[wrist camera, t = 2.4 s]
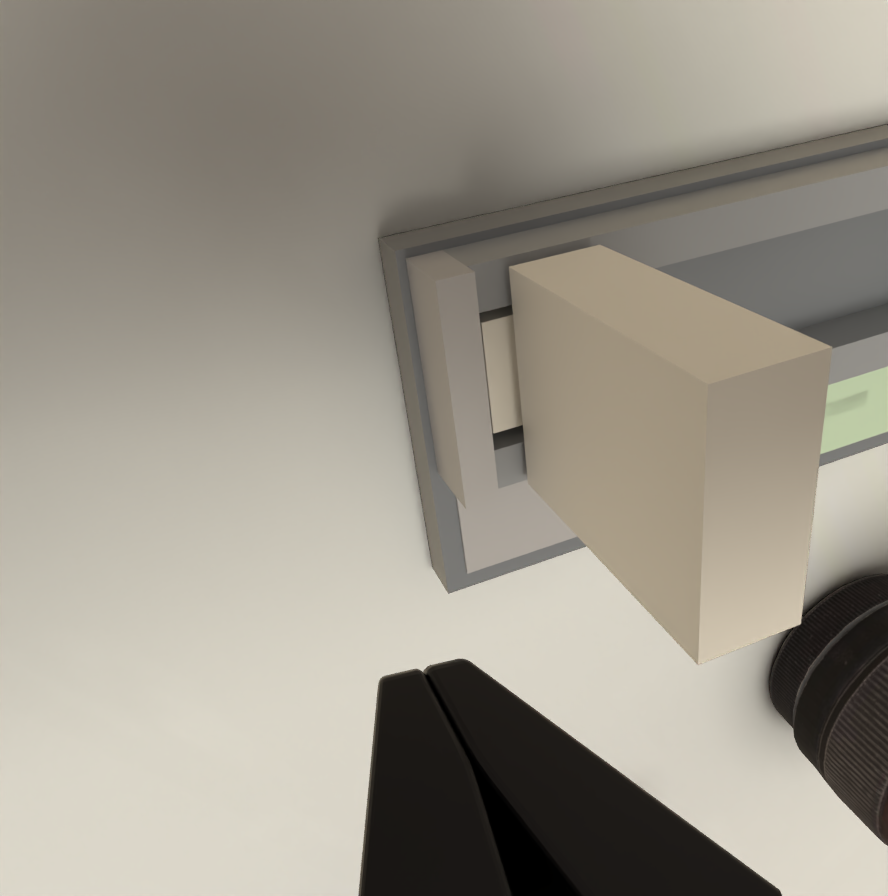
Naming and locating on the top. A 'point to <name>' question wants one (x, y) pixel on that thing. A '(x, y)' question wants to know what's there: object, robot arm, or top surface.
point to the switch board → (665, 249)
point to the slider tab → (666, 437)
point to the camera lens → (842, 695)
